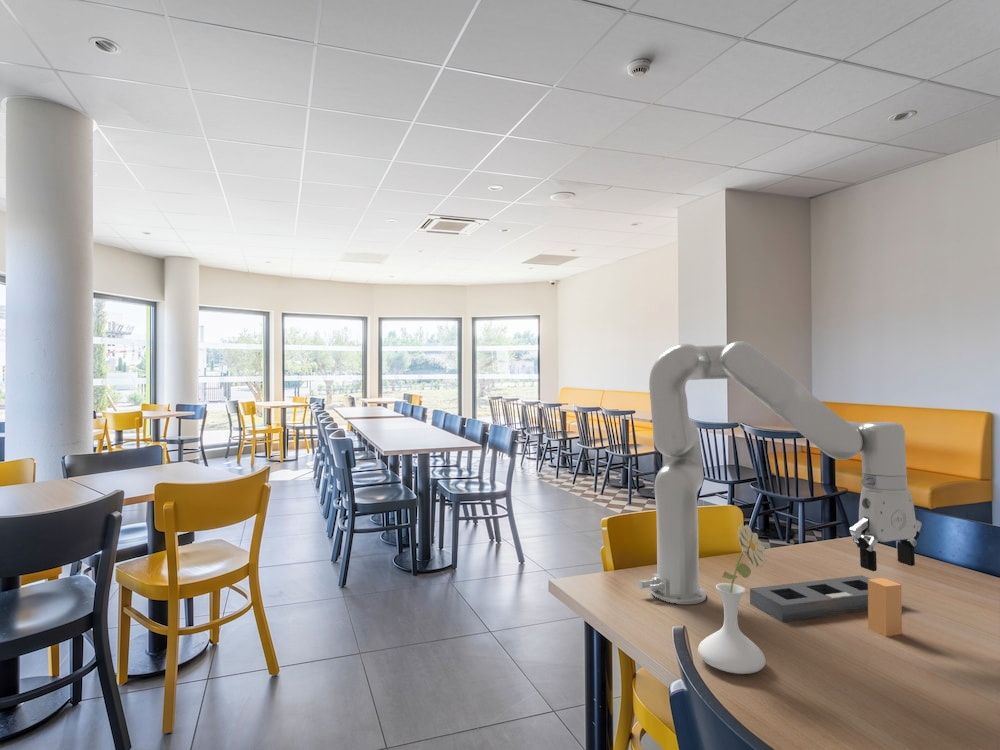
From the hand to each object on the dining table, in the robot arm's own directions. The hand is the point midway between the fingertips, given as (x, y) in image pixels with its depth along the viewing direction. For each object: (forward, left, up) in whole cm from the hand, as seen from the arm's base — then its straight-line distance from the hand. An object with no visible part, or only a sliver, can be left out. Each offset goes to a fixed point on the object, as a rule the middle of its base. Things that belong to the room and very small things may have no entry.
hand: (887, 566), depth 114 cm
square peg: (0, 0, -13) cm, 13 cm away
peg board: (-1, +14, -13) cm, 20 cm away
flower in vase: (-38, -3, -14) cm, 41 cm away
